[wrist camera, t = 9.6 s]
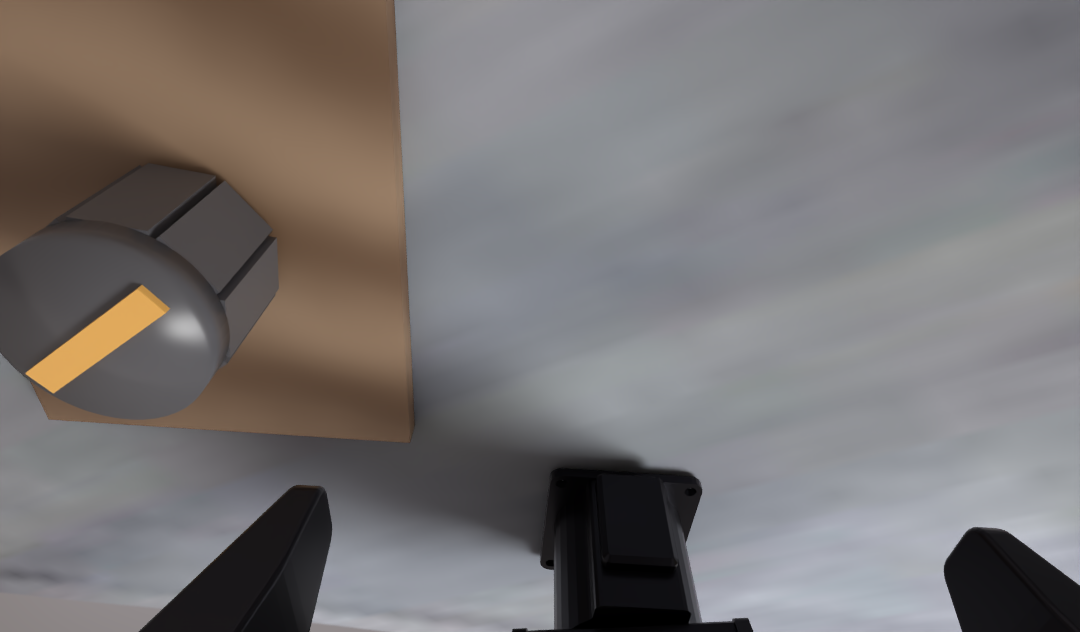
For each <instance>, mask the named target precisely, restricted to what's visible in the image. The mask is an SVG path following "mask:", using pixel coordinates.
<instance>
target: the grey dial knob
mask: <svg viewBox="0 0 1080 632" xmlns="http://www.w3.org/2000/svg"><path fill="white" fill-rule="evenodd" d="M272 230H273V229H272V228H271V227H270V226H269V225H268V224H267V223H266V222H265V221H264V220H263V219H262V218H261V217H260V216H259V215H258V214H257V213H256V212H255V211H254V210H253V209H252V208H251V207H250V206H249V205H248V204H247V203H246V202H245V201H244V200H243V199H242V198H241V197H240V196H239V195H238V194H237V192H236V191H235V190H234V189H233V188H232V187H231V186H230V185H229V184H228V183H227V182H226V181H224V182H222V183H221V184H220V185H219V186H217V185H216V176H215V175H210V174H204V173H199V172H194V171H188V170H183V169H177V168H172V167H167V166H161V165H156V164H151V163H148V164H146V165H144V166H143V167H142V166H140V165H139V166H137V167H136V168H134V169H132V170H131V171H129V172H128V173H126V174H125V175H123V176H121V177H120V178H118V179H117V180H115V181H114V182H112V183H110V184H109V185H107V186H106V187H104V188H103V189H101V190H99V191H98V192H96V193H95V194H93V195H92V196H90V197H88V198H87V199H85V200H84V201H82V202H81V203H79V204H77V205H76V206H74V207H73V208H71V209H70V210H68V211H66V212H65V213H63V214H62V215H60V216H59V217H57V218H55V219H54V220H53V221H52V222H51V223H50V224H49V225H47V226H46V227H45V228H44V229H41V230H39V231H38V232H36V233H35V234H33V235H32V236H30V237H29V238H27V239H25V240H24V241H22V242H21V243H19V244H18V245H16V246H14V247H13V248H11V249H10V250H8V251H7V252H5V253H4V254H2V255H1V256H0V352H1V354H2V355H3V356H4V357H5V358H6V359H7V360H8V362H9V363H10V364H11V365H12V366H13V367H14V368H15V369H16V370H18V371H19V372H20V373H21V374H22V375H23V376H24V377H26V378H27V379H28V380H30V381H31V382H32V383H34V384H35V385H36V386H38V387H39V388H41V389H42V390H44V391H46V392H47V393H49V394H50V395H52V396H54V397H56V398H58V399H60V400H62V401H64V402H66V403H68V404H70V405H73V406H75V407H77V408H80V409H83V410H86V411H89V412H92V413H96V414H99V415H103V416H108V417H113V418H120V419H129V420H145V419H155V418H160V417H165V416H168V415H171V414H174V413H177V412H179V411H181V410H183V409H184V408H186V407H187V406H189V405H190V404H191V403H193V402H194V401H195V400H196V399H197V398H198V397H199V395H200V394H201V393H202V391H203V390H204V389H205V387H206V386H207V384H208V383H209V382H210V380H211V379H212V377H213V376H214V375H215V373H216V372H217V370H219V369H220V368H222V367H223V366H225V365H226V364H228V362H229V361H230V359H231V358H232V356H233V355H234V354H235V352H236V351H237V349H238V348H239V346H240V345H241V344H242V342H243V341H244V339H245V338H246V337H247V335H248V334H249V332H250V331H251V329H252V328H253V327H254V325H255V324H256V322H257V321H258V319H259V318H260V317H261V315H262V314H263V312H264V311H265V309H266V308H267V307H268V305H269V304H270V302H271V301H272V300H273V298H274V297H275V295H276V292H277V291H278V289H279V278H278V253H277V237H272V236H268V235H269V234H270V233H271V231H272Z"/></svg>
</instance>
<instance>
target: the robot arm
mask: <svg viewBox="0 0 1080 632" xmlns="http://www.w3.org/2000/svg"><path fill="white" fill-rule="evenodd" d="M560 480H563V481H560ZM688 488H690V489H688ZM701 495H702V487H701V483H700V481H699V480H698V479H697V478H695V477H688V476H672V475H657V474H641V473H625V472H610V471H594V470H579V469H557V470H554V471H553V472H552V473H551V475H550V482H549V490H548V498H547V506H546V514H545V522H544V531H543V539H542V547H541V555H540V563H541V566H542V567H543V568H546V569H550V570H554V630H535V631H528V630H527V628H522V629H513V630H512V632H753V630H752V627H751V624H750V622H749V619H748V618H735V619H732V621H728V622H706V623H702V619H701V614H700V610H699V605H698V600H697V595H696V591H695V586H694V581H693V576H692V572H691V567H690V562H689V557H688V552H687V548H686V541H687V537H688V534H689V531H690V528H691V525H692V522H693V519H694V516H695V513H696V510H697V507H698V504H699V501H700V498H701ZM331 536H332V522H331V516H330V510H329V504H328V498H327V493H326V491H325V489H324V488H323V487H320V486H307V485H296V486H293V487H292V488H290V489H289V490H288V491H287V492H286V493H284V494H283V495H282V496H281V497H280V498H279V499H278V500H277V501H276V502H275V503H274V504H273V505H272V506H271V507H270V508H269V509H268V510H267V511H265V512H264V513H263V514H262V515H261V516H260V517H259V518H258V519H257V520H256V521H255V522H254V523H253V524H252V525H251V526H250V527H249V528H248V529H246V530H245V531H244V532H243V533H242V534H241V535H240V536H239V537H238V538H237V539H236V540H235V541H234V542H233V543H232V544H231V545H230V546H229V547H227V548H226V549H225V550H224V551H223V552H222V553H221V554H220V555H219V556H218V557H217V558H216V559H215V560H214V561H213V562H212V563H211V564H210V565H209V566H207V567H206V568H205V569H204V570H203V571H202V572H201V573H200V574H199V575H198V576H197V577H196V578H195V579H194V580H193V581H192V582H191V583H190V584H188V585H187V586H186V587H185V588H184V589H183V590H182V591H181V592H180V593H179V594H178V595H177V596H176V597H175V598H174V599H173V600H172V601H171V602H169V603H168V604H167V605H166V606H165V607H164V608H163V609H162V610H161V611H160V612H159V613H158V614H157V615H156V616H155V617H154V618H153V619H152V620H150V621H149V622H148V623H147V625H145V626H144V627H143V628H142V629H141V630H140V631H139V632H309V631H310V627H311V623H312V618H313V614H314V610H315V606H316V602H317V597H318V593H319V589H320V585H321V581H322V576H323V572H324V568H325V564H326V559H327V555H328V551H329V547H330V542H331ZM944 576H945V581H946V584H947V587H948V590H949V593H950V596H951V599H952V602H953V605H954V608H955V611H956V614H957V617H958V620H959V623H960V626H961V629H962V632H1080V585H1078V584H1077V583H1076V582H1074V581H1073V580H1072V579H1070V578H1069V577H1068V576H1066V575H1065V574H1064V573H1062V572H1061V571H1060V570H1058V569H1057V568H1056V567H1054V566H1053V565H1052V564H1050V563H1049V562H1048V561H1046V560H1045V559H1044V558H1042V557H1041V556H1040V555H1038V554H1037V553H1036V552H1034V551H1033V550H1032V549H1030V548H1029V547H1028V546H1026V545H1025V544H1024V543H1022V542H1021V541H1020V540H1018V539H1017V538H1016V537H1014V536H1013V535H1011V534H1010V533H1008V532H1007V531H1005V530H1002V529H997V528H983V527H973V528H971V529H969V530H968V531H967V532H966V533H965V534H964V535H963V537H962V538H961V540H960V541H959V543H958V544H957V545H956V547H955V548H954V550H953V551H952V552H951V554H950V555H949V557H948V558H947V560H946V561H945V565H944Z"/></svg>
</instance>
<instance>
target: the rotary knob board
mask: <svg viewBox="0 0 1080 632" xmlns="http://www.w3.org/2000/svg"><path fill="white" fill-rule="evenodd" d="M148 163H151V164H156V165H161V166H167V167H172V168H177V169H183V170H188V171H194V172H199V173H204V174H210V175H215V176H216V185H217V186H219V185H220V184H221V183H222V182H224V181H226V182H227V183H228V184H229V185H230V186H231V187H232V188H233V189H234V190H235V191H236V192H237V194H238V195H239V196H240V197H241V198H242V199H243V200H244V201H245V202H246V203H247V204H248V205H249V206H250V207H251V208H252V209H253V210H254V211H255V212H256V213H257V214H258V215H259V216H260V217H261V218H262V219H263V220H264V221H265V222H266V223H267V224H268V225H269V226H270V227H271V228H272V229H273V230H272V231H271V233H270V234H269V235H268V236H272V237H277V253H278V278H279V289H278V291H277V292H276V295H275V297H274V298H273V300H272V301H271V302H270V304H269V305H268V307H267V308H266V309H265V311H264V312H263V314H262V315H261V317H260V318H259V319H258V321H257V322H256V324H255V325H254V327H253V328H252V329H251V331H250V332H249V334H248V335H247V337H246V338H245V339H244V341H243V342H242V344H241V345H240V346H239V348H238V349H237V351H236V352H235V354H234V355H233V356H232V358H231V359H230V361H229V362H228V364H226V365H225V366H223V367H222V368H220V369H219V370H217V372H216V373H215V375H214V376H213V377H212V379H211V380H210V382H209V383H208V384H207V386H206V387H205V389H204V390H203V391H202V393H201V394H200V395H199V397H198V398H197V399H196V400H195V401H194V402H193V403H191V404H190V405H189V406H187V407H186V408H184V409H183V410H181V411H179V412H177V413H174V414H171V415H168V416H165V417H160V418H155V419H145V420H129V419H120V418H113V417H108V416H103V415H99V414H96V413H92V412H89V411H86V410H83V409H80V408H77V407H75V406H73V405H70V404H68V403H66V402H64V401H62V400H60V399H58V398H56V397H54V396H52V395H50V394H49V393H47V392H46V391H44V390H42V389H41V388H39V387H38V386H36V385H35V384H34V383H32V382H31V381H30V382H31V384H32V386H33V388H34V390H35V392H36V394H37V396H38V398H39V400H40V402H41V404H42V406H43V408H44V411H45V413H46V415H47V417H48V419H50V420H65V421H81V422H96V423H111V424H127V425H142V426H157V427H173V428H188V429H204V430H219V431H234V432H250V433H265V434H280V435H296V436H311V437H327V438H342V439H357V440H373V441H388V442H403V443H410V441H411V438H412V434H413V430H414V426H415V420H414V400H413V379H412V358H411V338H410V317H409V296H408V276H407V255H406V234H405V214H404V193H403V172H402V152H401V131H400V110H399V90H398V69H397V48H396V28H395V7H394V0H0V256H1V255H2V254H4V253H5V252H7V251H8V250H10V249H11V248H13V247H14V246H16V245H18V244H19V243H21V242H22V241H24V240H25V239H27V238H29V237H30V236H32V235H33V234H35V233H36V232H38V231H39V230H41V229H44V228H45V227H46V226H47V225H49V224H50V223H51V222H52V221H53V220H54V219H55V218H57V217H59V216H60V215H62V214H63V213H65V212H66V211H68V210H70V209H71V208H73V207H74V206H76V205H77V204H79V203H81V202H82V201H84V200H85V199H87V198H88V197H90V196H92V195H93V194H95V193H96V192H98V191H99V190H101V189H103V188H104V187H106V186H107V185H109V184H110V183H112V182H114V181H115V180H117V179H118V178H120V177H121V176H123V175H125V174H126V173H128V172H129V171H131V170H132V169H134V168H136V167H137V166H139V165H140V166H142V167H143V166H144V165H146V164H148Z"/></svg>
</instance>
